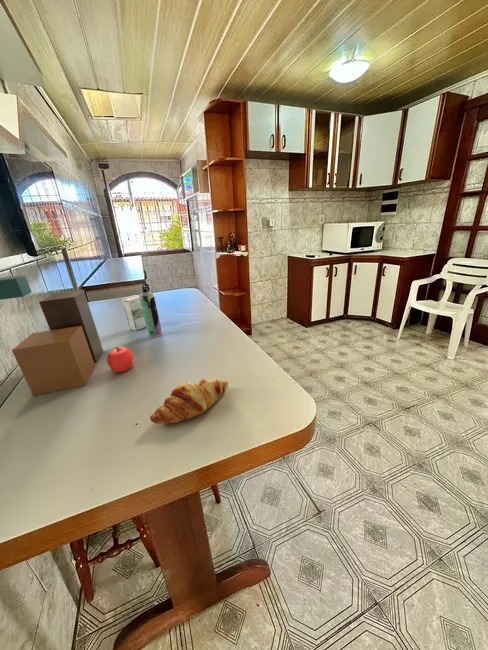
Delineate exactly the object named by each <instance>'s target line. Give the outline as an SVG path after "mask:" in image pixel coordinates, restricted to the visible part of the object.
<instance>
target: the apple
mask: <svg viewBox="0 0 488 650" xmlns="http://www.w3.org/2000/svg"><path fill="white" fill-rule="evenodd" d="M134 359H135V358H134V353H133V351H132V350H131V349H130V348H128V347H125V346H120V347H118V346H116V348H113V349H111V350H110V351H109V352H108V354H107V357H106V364H107V365H108V366H109V368H110V369H111V371H113V372H115V373H126V372H127V371H129V370H130V369H131V368H133V366H134V364H135V361H134Z"/></svg>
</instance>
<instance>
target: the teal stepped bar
mask: <svg viewBox="0 0 488 650" xmlns="http://www.w3.org/2000/svg"><path fill="white" fill-rule="evenodd" d="M32 293H33V292H32V289H31V287H30V284H29V281H28V279H27V276H26V274H23V275H13V276H5V277H4V276H3V277H0V301H1V300H8V299H9V300H10V299H16V298H23V297H25V296H27V295H29V294H32Z"/></svg>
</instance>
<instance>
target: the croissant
mask: <svg viewBox="0 0 488 650" xmlns="http://www.w3.org/2000/svg"><path fill="white" fill-rule="evenodd" d="M228 387H229V381H227V380H225V381H223V380H220V379H215V380H207V379H204V378H202V379H200V380H199V382H198V383H193V382H185V383H181V384H179V385H177V386H176V387H175V388H174V389H173V390H171V394H170V395H169V397H166V398H165V399H164V401H163V405H160V406H159V407H158V408H156V410H155V412H153V414H151V415H150V416H149V419H150V421H151V422H152V423H154V424H166V423H167V424H176V423H180V422H182V421H188V420H190V419H193V418H195V417H197V416H199V415H201V414H203V413H205V412H206V411H208V410H209V409H211V408H212V406H213V404H214V403H216V402H217V401H218V400H219V399H220V397H221V395H223V394H224V393H225V392H226V391H227V390H228Z"/></svg>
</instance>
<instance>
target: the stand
mask: <svg viewBox="0 0 488 650" xmlns="http://www.w3.org/2000/svg"><path fill="white" fill-rule="evenodd" d="M38 304H39V305H40V308H41V311H42V314H43V317H44V318H45V321H46V323H47V326H48V329H49V331H51V330H57V329H63V328H70V327H76V326H82V329H83V331H84V334H85V337H86V340H87V343H88V346H89V349H90V352H91V355H92V358H93V361H94V364H95V365H96V364H97V363H98V362H99V360H100V358H101V356H102V354H103V352H104V348H103V346H102V345H103V344H102V343H101V339H100V336H99V333H98V330H97V327H96V326H97V325H96V324H95V319H94V317H93V315H92V314H93V313H92V311H91V308H90V304H89V301H88V299H87V294H86V292H85V289H77V290H71V291H70V290H69V291H64V292H63V291H62V292H56V293H51V294H49V295H48V296H46V297H44V298H43V299H41V300H39V301H38Z"/></svg>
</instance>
